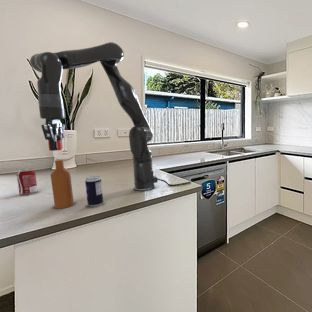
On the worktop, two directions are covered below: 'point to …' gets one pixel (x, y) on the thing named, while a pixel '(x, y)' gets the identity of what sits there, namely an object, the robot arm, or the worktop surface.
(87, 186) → the beverage can
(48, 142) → the cap
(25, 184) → the red food package
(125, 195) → the worktop surface
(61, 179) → the sauce bottle
